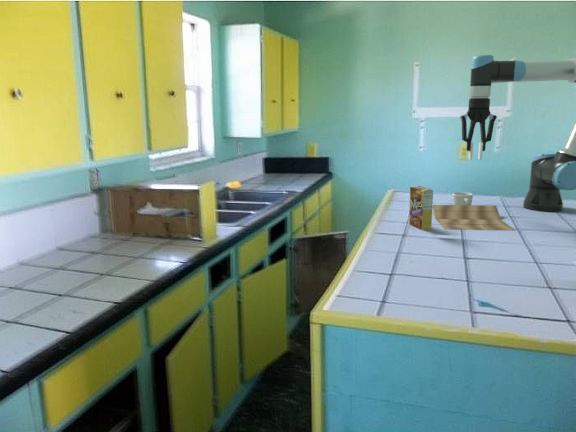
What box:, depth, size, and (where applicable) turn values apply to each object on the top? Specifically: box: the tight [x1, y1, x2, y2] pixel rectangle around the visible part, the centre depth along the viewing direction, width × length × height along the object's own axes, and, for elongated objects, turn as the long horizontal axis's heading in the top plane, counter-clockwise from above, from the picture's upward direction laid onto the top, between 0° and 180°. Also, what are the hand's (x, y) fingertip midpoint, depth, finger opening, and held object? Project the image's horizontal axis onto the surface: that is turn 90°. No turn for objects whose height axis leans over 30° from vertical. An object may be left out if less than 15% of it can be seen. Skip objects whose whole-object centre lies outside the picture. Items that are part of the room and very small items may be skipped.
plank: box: [432, 204, 502, 220], centre depth 193 cm, size 24×8×1 cm
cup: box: [451, 191, 474, 205], centre depth 204 cm, size 11×8×8 cm
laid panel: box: [435, 219, 516, 232], centre depth 182 cm, size 24×16×1 cm, turn 85°
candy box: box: [408, 185, 434, 231], centre depth 178 cm, size 9×4×15 cm, turn 17°
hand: (475, 159), depth 196 cm, fingers open, 3 cm apart
